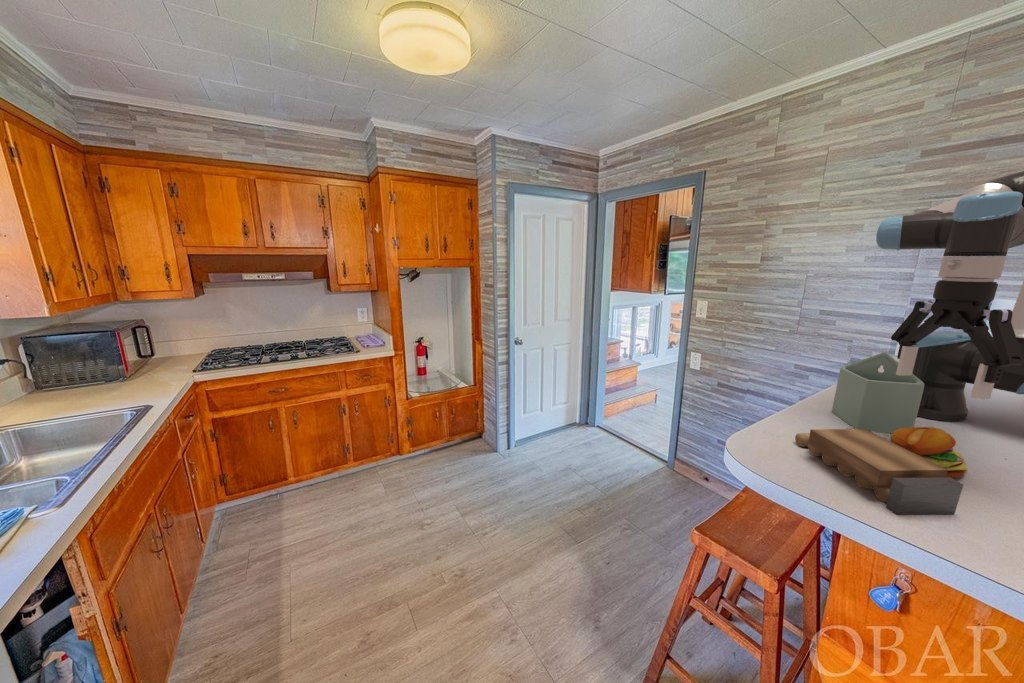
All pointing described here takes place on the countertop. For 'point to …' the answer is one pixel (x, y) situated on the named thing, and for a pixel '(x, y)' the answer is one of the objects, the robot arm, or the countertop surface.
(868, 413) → the planter
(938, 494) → the stop rail
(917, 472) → the board
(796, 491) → the countertop surface
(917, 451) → the cheeseburger
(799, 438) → the cylinder
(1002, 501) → the countertop surface
